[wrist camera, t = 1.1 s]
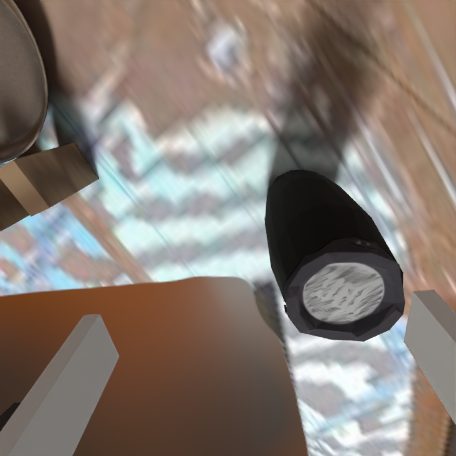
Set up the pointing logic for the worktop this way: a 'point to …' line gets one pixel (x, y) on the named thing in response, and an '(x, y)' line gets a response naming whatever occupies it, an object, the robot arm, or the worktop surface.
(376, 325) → the portable speaker
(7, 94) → the plant saucer
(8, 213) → the domino
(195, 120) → the worktop surface
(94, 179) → the domino
